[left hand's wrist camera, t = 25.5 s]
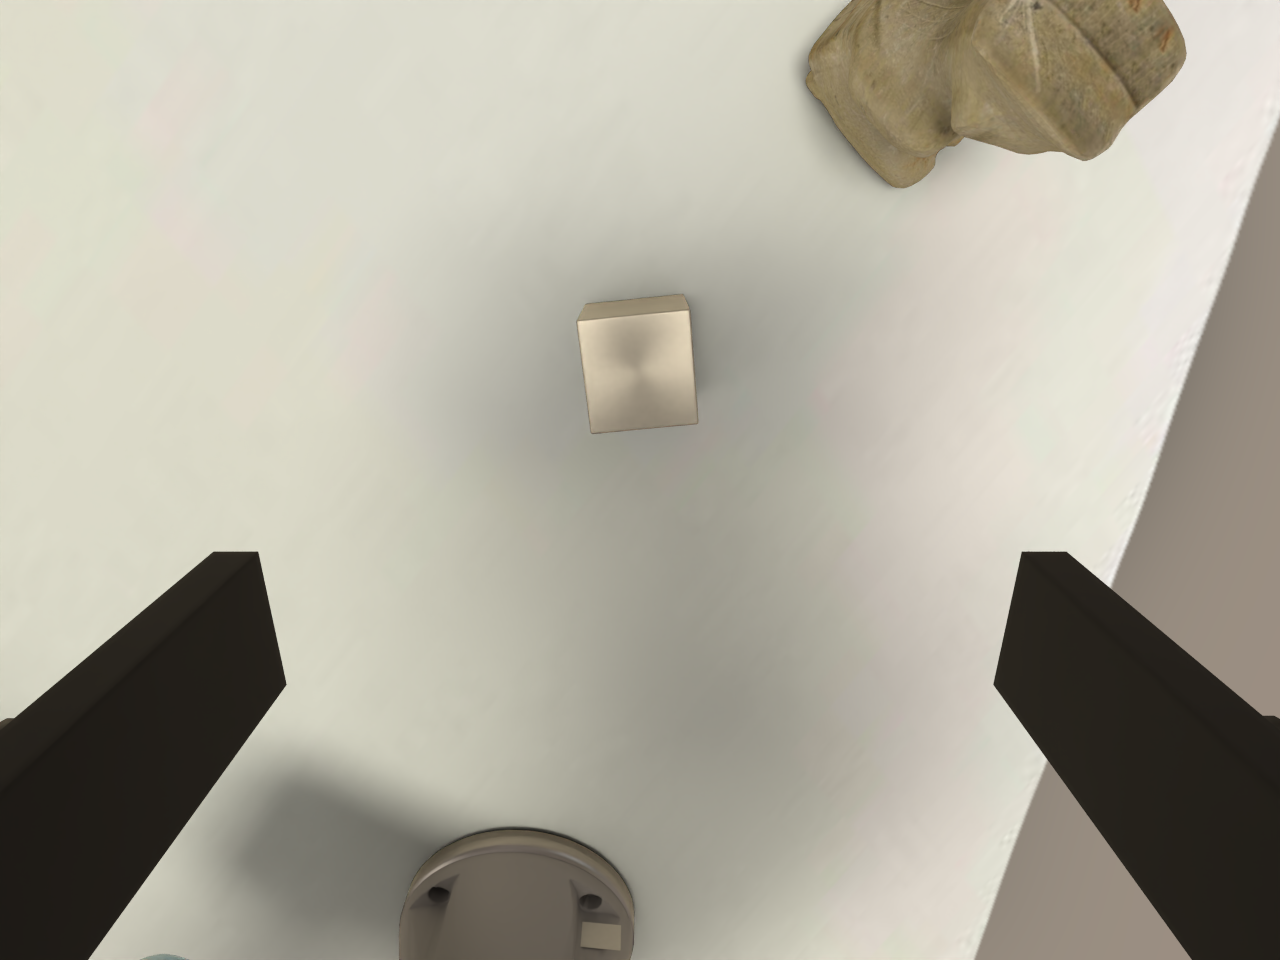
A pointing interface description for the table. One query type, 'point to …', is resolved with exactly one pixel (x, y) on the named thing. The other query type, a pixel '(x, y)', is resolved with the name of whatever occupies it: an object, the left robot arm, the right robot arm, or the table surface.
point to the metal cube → (638, 363)
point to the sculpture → (990, 75)
